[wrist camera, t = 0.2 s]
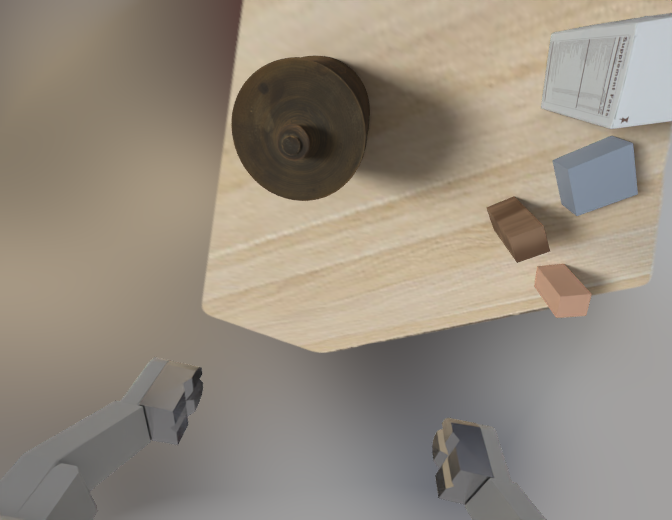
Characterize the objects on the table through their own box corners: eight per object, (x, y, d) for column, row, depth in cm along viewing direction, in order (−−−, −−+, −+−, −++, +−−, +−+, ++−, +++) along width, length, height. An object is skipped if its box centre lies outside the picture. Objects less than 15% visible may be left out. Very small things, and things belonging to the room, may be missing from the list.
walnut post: (486, 207, 57) (509, 238, 47) (514, 196, 55) (543, 225, 46) (493, 229, 59) (517, 262, 49) (520, 218, 57) (550, 251, 48)
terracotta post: (537, 266, 62) (560, 296, 54) (564, 263, 61) (591, 294, 53) (534, 286, 64) (556, 317, 56) (560, 283, 63) (586, 315, 55)
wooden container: (275, 46, 47) (213, 42, 28) (379, 66, 47) (385, 75, 29) (269, 152, 55) (217, 203, 36) (358, 169, 55) (352, 228, 36)
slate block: (551, 159, 52) (567, 169, 48) (610, 135, 49) (633, 143, 45) (561, 203, 55) (576, 216, 51) (616, 182, 53) (637, 194, 49)
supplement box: (610, 100, 47) (714, 120, 33) (538, 110, 48) (609, 134, 34) (630, 16, 42) (763, -2, 28) (550, 30, 43) (638, 20, 29)
